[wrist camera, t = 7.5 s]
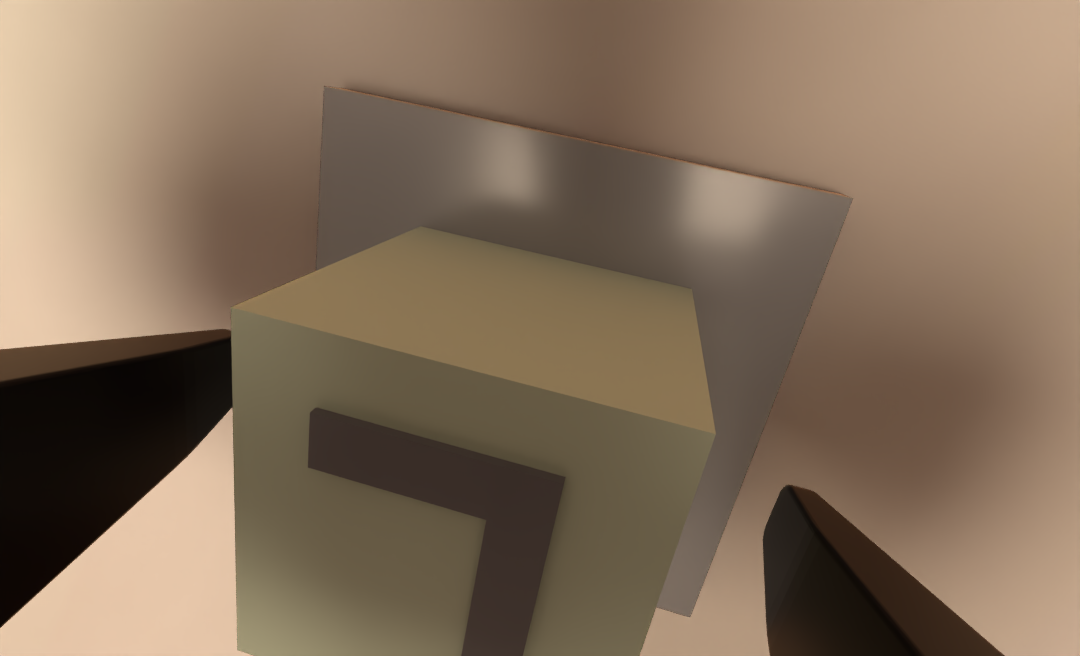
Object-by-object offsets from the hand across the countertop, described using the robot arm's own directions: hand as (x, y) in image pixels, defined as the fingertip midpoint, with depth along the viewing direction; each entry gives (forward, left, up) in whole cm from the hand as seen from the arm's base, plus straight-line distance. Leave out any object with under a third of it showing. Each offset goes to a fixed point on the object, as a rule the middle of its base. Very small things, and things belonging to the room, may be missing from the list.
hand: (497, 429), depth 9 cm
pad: (0, 0, -3) cm, 3 cm away
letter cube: (0, 0, -2) cm, 2 cm away
